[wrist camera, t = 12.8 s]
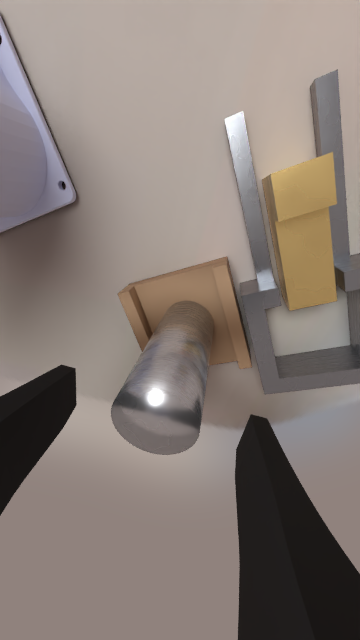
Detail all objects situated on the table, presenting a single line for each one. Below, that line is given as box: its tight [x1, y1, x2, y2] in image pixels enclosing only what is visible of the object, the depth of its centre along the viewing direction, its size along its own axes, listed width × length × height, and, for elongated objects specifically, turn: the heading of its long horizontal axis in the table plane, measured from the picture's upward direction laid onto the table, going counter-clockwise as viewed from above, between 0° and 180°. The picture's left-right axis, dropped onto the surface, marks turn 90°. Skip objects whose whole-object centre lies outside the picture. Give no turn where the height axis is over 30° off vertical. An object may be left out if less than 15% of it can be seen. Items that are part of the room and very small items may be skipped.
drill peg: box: [111, 301, 214, 455], centre depth 13 cm, size 4×4×8 cm
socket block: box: [225, 69, 360, 394], centre depth 14 cm, size 16×7×2 cm, turn 18°
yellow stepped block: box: [262, 152, 337, 310], centre depth 13 cm, size 7×2×4 cm, turn 18°
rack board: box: [118, 257, 252, 369], centre depth 17 cm, size 7×7×2 cm
